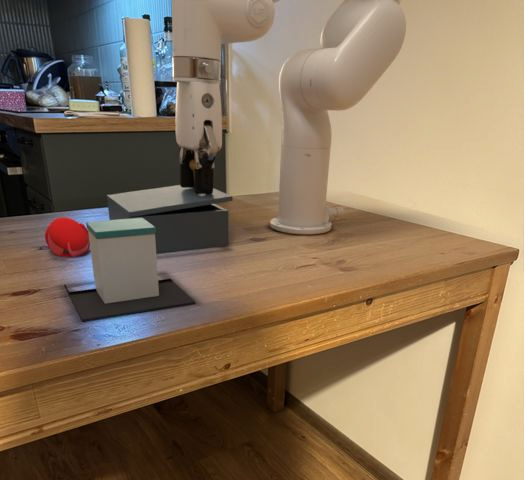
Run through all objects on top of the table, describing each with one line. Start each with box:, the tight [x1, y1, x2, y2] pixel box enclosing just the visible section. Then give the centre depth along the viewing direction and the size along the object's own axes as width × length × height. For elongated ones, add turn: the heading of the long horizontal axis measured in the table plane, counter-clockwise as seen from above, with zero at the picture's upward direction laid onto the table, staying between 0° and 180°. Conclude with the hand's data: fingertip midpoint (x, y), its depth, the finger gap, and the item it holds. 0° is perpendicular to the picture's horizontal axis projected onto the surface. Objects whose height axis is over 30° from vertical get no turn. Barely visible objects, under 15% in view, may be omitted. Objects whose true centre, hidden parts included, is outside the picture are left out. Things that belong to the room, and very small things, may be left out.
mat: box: [63, 278, 196, 323], centre depth 66 cm, size 14×13×1 cm
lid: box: [106, 160, 234, 217], centre depth 84 cm, size 17×15×6 cm
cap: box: [44, 216, 91, 258], centre depth 79 cm, size 8×6×6 cm
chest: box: [107, 199, 229, 255], centre depth 87 cm, size 17×15×7 cm
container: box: [85, 218, 159, 304], centre depth 64 cm, size 7×6×9 cm
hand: (196, 189), depth 87 cm, fingers closed on lid, 6 cm apart
